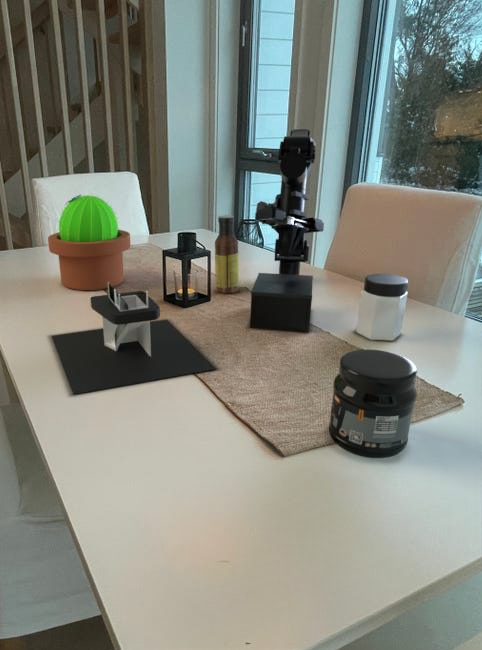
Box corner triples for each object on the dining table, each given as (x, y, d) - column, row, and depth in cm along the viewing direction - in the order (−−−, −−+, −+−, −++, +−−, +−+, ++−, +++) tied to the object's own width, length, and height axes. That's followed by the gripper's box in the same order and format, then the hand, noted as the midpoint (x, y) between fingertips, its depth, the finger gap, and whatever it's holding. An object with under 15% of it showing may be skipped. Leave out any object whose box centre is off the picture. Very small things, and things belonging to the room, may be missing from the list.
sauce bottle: (238, 287, 141) (240, 214, 133) (238, 294, 135) (241, 218, 127) (214, 287, 141) (215, 214, 133) (213, 294, 135) (214, 218, 128)
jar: (409, 338, 106) (419, 282, 101) (377, 344, 103) (385, 286, 99) (379, 324, 114) (387, 271, 109) (348, 329, 111) (355, 275, 106)
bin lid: (311, 299, 106) (312, 295, 105) (250, 295, 109) (251, 291, 108) (312, 278, 119) (313, 275, 119) (258, 276, 122) (258, 272, 122)
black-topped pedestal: (51, 336, 110) (44, 275, 104) (166, 320, 118) (165, 263, 113) (73, 394, 85) (65, 320, 80) (216, 369, 94) (217, 299, 88)
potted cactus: (146, 278, 150) (142, 190, 141) (97, 298, 133) (89, 199, 124) (89, 269, 161) (82, 186, 152) (37, 286, 144) (26, 195, 135)
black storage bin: (308, 332, 109) (312, 298, 106) (249, 328, 112) (251, 294, 109) (309, 310, 122) (312, 279, 119) (257, 307, 125) (258, 276, 122)
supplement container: (355, 412, 79) (365, 341, 74) (421, 442, 71) (437, 365, 66) (312, 437, 73) (320, 361, 68) (379, 472, 65) (393, 389, 60)
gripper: (291, 202, 133) (286, 263, 134) (240, 187, 121) (235, 253, 122) (327, 197, 124) (322, 261, 125) (276, 179, 113) (270, 251, 113)
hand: (287, 257), depth 122 cm, fingers closed
